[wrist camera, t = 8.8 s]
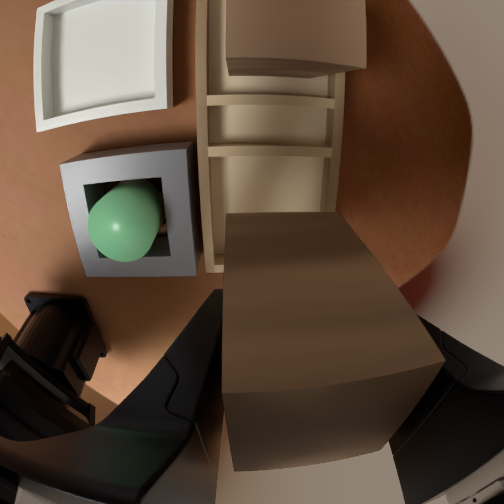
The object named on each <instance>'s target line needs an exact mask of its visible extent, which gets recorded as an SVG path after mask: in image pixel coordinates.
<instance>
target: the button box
mask: <svg viewBox="0 0 504 504" xmlns="http://www.w3.org/2000/svg"><path fill="white" fill-rule="evenodd" d="M60 169H61V175H62V180H63V186H64V191H65V196H66V201H67V206H68V211H69V215H70V219H71V224H72V228H73V232H74V236H75V240H76V243H77V247H78V251H79V254H80V258H81V261H82V264H83V268H84V271H85V274H86V277H166V276H197V271H198V266H199V260H200V254H201V253H200V242H199V230H198V218H197V204H196V189H195V173H194V154H193V141H190V142H175V143H163V144H152V145H142V146H133V147H125V148H117V149H110V150H103V151H96V152H90V153H84V154H79V155H77V156H75V157H73V158H71V159H69V160H67V161H65V162H63V163H61V164H60ZM156 177H161V178H162V188H163V198H164V207H165V215H166V223H167V231H168V236H158V237H155V239H154V241H153V243H152V245H151V247H150V249H149V250H148V252H147V253H146V254H145V255H144V256H142V257H141V258H139V259H137V260H135V261H130V262H120V261H116V260H113V259H110V258H108V257H107V256H105V255H104V254H102V253H101V252H100V251H99V250H98V249H97V248H96V247H95V245H94V244H93V242H92V240H91V238H90V236H89V232H88V217H89V213H90V211H91V209H92V208H93V206H94V205H95V204H96V203H97V202H98V201H99V200H100V199H101V198H102V197H103V196H105V194H104V188H103V182H111V181H121V180H132V179H143V178H156Z"/></svg>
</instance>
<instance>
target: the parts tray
mask: <svg viewBox="0 0 504 504" xmlns="http://www.w3.org/2000/svg"><path fill="white" fill-rule="evenodd" d="M173 2H174V0H55V1H53V2H50V3H48V4H46V5H44V6H41V7H39V8H37V15H36V25H35V39H34V104H35V118H36V128H37V132H41V131H44V130H48V129H52V128H56V127H60V126H64V125H68V124H73V123H77V122H82V121H87V120H92V119H97V118H102V117H108V116H114V115H120V114H127V113H133V112H141V111H149V110H157V109H167V108H172V107H173V71H172V40H173Z"/></svg>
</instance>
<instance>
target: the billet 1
mask: <svg viewBox="0 0 504 504" xmlns="http://www.w3.org/2000/svg"><path fill="white" fill-rule="evenodd" d="M366 51H367V48H366V7H365V0H226V63H227V68H228V74H229V76H275V77H294V78H307V79H310V78H314V77H319V76H324V75H330V74H335V73H341V72H347V71H353V70H360V69H366Z"/></svg>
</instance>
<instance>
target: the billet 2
mask: <svg viewBox="0 0 504 504" xmlns="http://www.w3.org/2000/svg"><path fill="white" fill-rule="evenodd" d="M445 361H446V360H445V358H444V357H443V355H442V353H441V352H440V350H439V349H438V347H437V345H436V344H435V342H434V341H433V339H432V338H431V336H430V334H429V333H428V331H427V330H426V328H425V327H424V325H423V324H422V322H421V321H420V319H419V318H418V316H417V315H416V313H415V312H414V311H413V309H412V308H411V306H410V305H409V303H408V302H407V301H406V299H405V298H404V296H403V295H402V293H401V292H400V291H399V289H398V288H397V286H396V285H395V284H394V282H393V281H392V280H391V278H390V277H389V276H388V274H387V273H386V271H385V270H384V269H383V267H382V266H381V265H380V264H379V262H378V261H377V260H376V258H375V257H374V256H373V254H372V253H371V252H370V251H369V249H368V248H367V247H366V245H365V244H364V243H363V242H362V240H361V239H360V238H359V237H358V235H357V234H356V233H355V232H354V230H353V229H352V228H351V227H350V225H349V224H348V223H347V222H346V221H345V219H344V218H343V217H342V216H341V215H340V213H339V212H258V213H226V218H225V244H224V277H223V324H222V397H223V404H224V411H225V418H226V424H227V431H228V437H229V443H230V450H231V455H232V462H233V468H234V471H257V470H271V469H282V468H291V467H299V466H306V465H313V464H319V463H325V462H330V461H336V460H341V459H345V458H350V457H355V456H359V455H363V454H367V453H371V452H375V451H379V450H380V449H382V447H383V446H384V445H385V444H386V443H387V442H388V440H389V439H390V438H391V437H392V436H393V435H394V433H395V432H396V431H397V430H398V428H399V427H400V426H401V425H402V423H403V422H404V421H405V420H406V418H407V417H408V416H409V414H410V413H411V412H412V410H413V409H414V408H415V406H416V405H417V403H418V402H419V401H420V399H421V398H422V396H423V395H424V394H425V392H426V391H427V389H428V388H429V386H430V385H431V383H432V382H433V380H434V379H435V377H436V375H437V374H438V372H439V371H440V369H441V368H442V366H443V364H444V363H445Z"/></svg>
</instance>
